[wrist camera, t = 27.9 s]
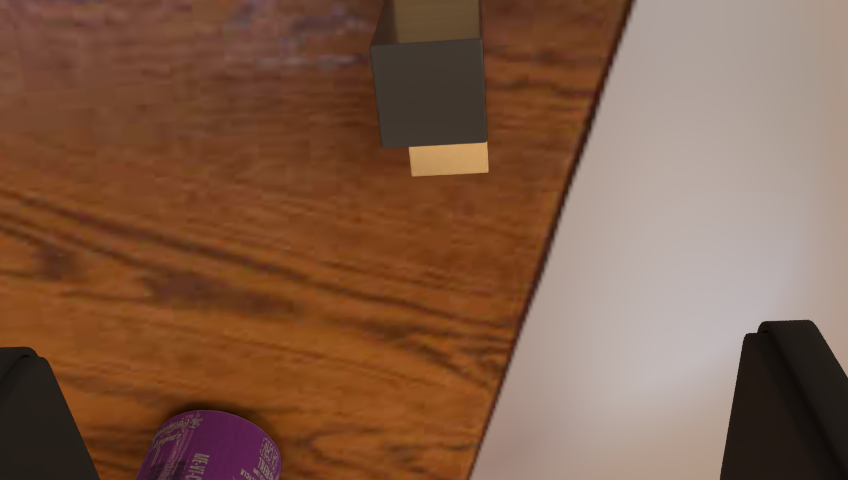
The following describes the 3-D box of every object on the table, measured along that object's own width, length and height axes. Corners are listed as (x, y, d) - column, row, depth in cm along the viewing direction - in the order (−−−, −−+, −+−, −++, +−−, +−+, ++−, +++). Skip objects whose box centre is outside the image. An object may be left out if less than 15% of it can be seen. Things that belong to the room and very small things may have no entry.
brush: (384, -176, 27) (345, -143, 18) (472, -184, 26) (474, -154, 18) (415, 144, 33) (397, 279, 24) (486, 140, 33) (493, 276, 24)
